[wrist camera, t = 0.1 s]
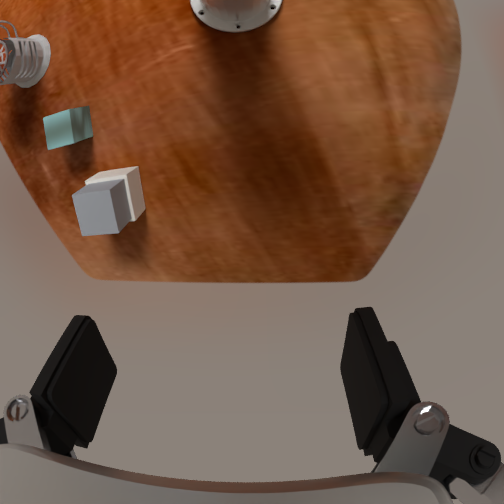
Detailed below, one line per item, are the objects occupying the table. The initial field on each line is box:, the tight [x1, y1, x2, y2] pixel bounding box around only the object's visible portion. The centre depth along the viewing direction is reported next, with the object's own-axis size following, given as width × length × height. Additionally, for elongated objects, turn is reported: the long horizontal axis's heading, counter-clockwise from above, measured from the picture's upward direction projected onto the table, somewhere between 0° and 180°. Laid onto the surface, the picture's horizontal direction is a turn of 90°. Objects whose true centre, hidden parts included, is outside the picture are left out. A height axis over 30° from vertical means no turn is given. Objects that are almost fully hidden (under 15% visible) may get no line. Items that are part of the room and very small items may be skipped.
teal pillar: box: [43, 106, 93, 150], centre depth 37 cm, size 5×5×6 cm
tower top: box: [72, 179, 132, 236], centre depth 39 cm, size 6×6×5 cm
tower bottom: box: [85, 166, 146, 221], centre depth 43 cm, size 7×7×5 cm
